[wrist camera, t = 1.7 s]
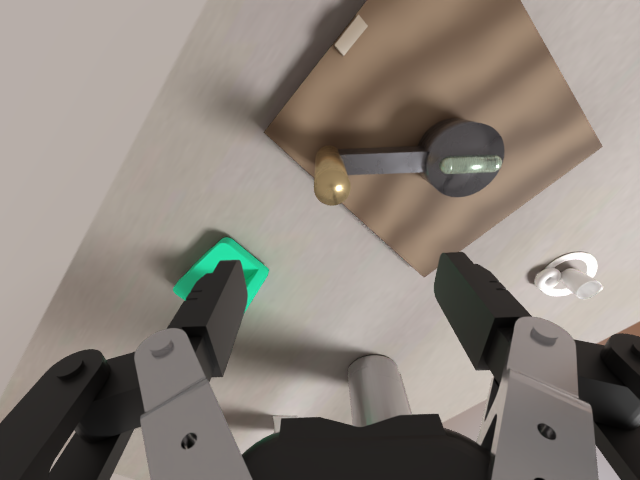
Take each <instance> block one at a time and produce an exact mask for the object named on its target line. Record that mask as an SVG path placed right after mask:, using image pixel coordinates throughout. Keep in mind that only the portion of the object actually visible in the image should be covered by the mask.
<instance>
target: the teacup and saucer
mask: <svg viewBox="0 0 640 480" xmlns="http://www.w3.org/2000/svg"><path fill="white" fill-rule="evenodd" d="M572 259H578V260H582V261H584V262H585V263H586V265H587V273H586V274H585V273H583V272H581V271H579V270H576V269H572V268H569V269H566V270H564V271H563V272H562V273H560V271H559V270H557V269H554V268H555V267H556V266H557V265H559V264H560V263H562V262H565V261H567V260H572ZM596 271H597V261H596V259H595V258H594V257H593V256H592V255H591V254H588V253H584V252H574V253H569V254H566V255H563V256H561V257H559V258H557V259H556V260H554V261H553V262H551V263H550V264H549V265H548V266H547V267H546V268H545V269H544V270H543V271H541V272H540V273H539V274H538V275H537V276H536V278H535V281H534V283H535V286H536V287H537V288H538V289H540V290H541V291H542V292H543V293H545V294H547V295H550V296H564V295H568V294H571V293H573V294H575V295H576V296H577V297H578V298H580V299H588V298H591V297H593V296H595V295H596V294H597V293H598V292H599V291H601V290H602V289H603V285H601V283H600V282H598V281H597V280H595V279H593V277H594V275H595V274H596ZM549 277H550V278H549ZM548 278H549V279H548ZM547 279H548V280H547ZM560 279H561V281H562V283H563V284H564V285H565V286H566V287H567V289H561V290H557V289H553V287H554V286H556V285H557V284H558V282H559V281H560Z"/></svg>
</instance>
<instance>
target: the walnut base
mask: <svg viewBox="0 0 640 480" xmlns="http://www.w3.org/2000/svg"><path fill="white" fill-rule="evenodd" d="M451 118H459V119H464V120H469V121H473V122H478V123H483V124H486V125H489V126H491V127H493V128H494V129H495V130H496V131H497V132H498V133H499V134H500V136H501V137H502V140H503V143H504V150H505V152H504V159H503V163H502V166H501V168H500V170H499V172H498V174H497V175H496V176H495V178H494V179H493V180H492V181H491V182H490V183H489V184H488V185H487V186H486V187H485V188H483V189H482V190H480V191H479V192H477V193H475V194H472V195H469V196H465V197H450V196H446V195H444V194H442V193H440V192H439V191H438V190H437V189H435V188H434V187H433V186H432V185H431V184H430V183H428V182H427V181H426V180H425V179H424V178H423V177H422V176H421V175H420V174H419V173H393V174H366V175H348V178H349V181H350V184H351V190H350V194H349V196H348V197H347V199H346V200H345V201H344V202H342V204H344V205H345V206H346V207H347V208H348V209H349V210H350V211H351V212H352V213H353V214H355V215H356V216H357V217H358V218H359V219H360V220H361V221H362V222H363V223H364V224H366V225H367V226H368V227H369V228H370V229H371V230H372V231H373V232H374V233H376V234H377V235H378V236H379V237H380V238H381V239H382V240H383V241H384V242H385V243H387V244H388V245H389V246H390V247H391V248H392V249H393V250H394V251H395V252H396V253H398V254H399V255H400V256H401V257H402V258H403V259H404V260H405V261H406V262H408V263H409V264H410V265H411V266H412V267H413V268H414V269H415V270H416V271H417V272H419V273H420V274H421V275H422V276H423V277H426V276H427V275H428V274H430V273H431V272H432V271H434V270H435V269H436V268H437V267H438V262H439V258H440V255H441V254H442V253H449V252H460V251H461V250H462V249H464V248H465V247H466V246H468V245H469V244H471V243H472V242H473V241H475V240H476V239H477V238H479V237H480V236H481V235H483V234H484V233H486V232H487V231H488V230H490V229H491V228H492V227H494V226H495V225H496V224H498V223H499V222H500V221H502V220H503V219H505V218H506V217H507V216H509V215H510V214H511V213H513V212H514V211H515V210H517V209H518V208H520V207H521V206H522V205H524V204H525V203H526V202H528V201H529V200H530V199H532V198H533V197H535V196H536V195H537V194H539V193H540V192H541V191H543V190H544V189H545V188H547V187H548V186H550V185H551V184H552V183H554V182H555V181H556V180H558V179H559V178H560V177H562V176H563V175H565V174H566V173H567V172H569V171H570V170H571V169H573V168H574V167H575V166H577V165H578V164H580V163H581V162H582V161H584V160H585V159H586V158H588V157H589V156H590V155H592V154H593V153H595V152H596V151H597V150H599V149H600V148H601V147H603V146H602V145H601V143H600V141H599V139H598V138H597V136H596V134H595V132H594V130H593V129H592V127H591V125H590V123H589V122H588V120H587V118H586V116H585V114H584V113H583V111H582V109H581V107H580V106H579V104H578V102H577V100H576V98H575V97H574V95H573V93H572V91H571V90H570V88H569V86H568V84H567V82H566V81H565V79H564V77H563V75H562V74H561V72H560V70H559V68H558V66H557V65H556V63H555V61H554V59H553V58H552V56H551V54H550V52H549V50H548V49H547V47H546V45H545V43H544V42H543V40H542V38H541V36H540V34H539V33H538V31H537V29H536V27H535V26H534V24H533V22H532V20H531V18H530V17H529V15H528V13H527V11H526V10H525V8H524V6H523V4H522V2H521V1H520V0H367V1H366V2H365V4H364V5H363V6H362V7H361V9H360V10H359V11H358V12H357V14H356V15H355V16H354V18H353V19H352V20H351V21H350V23H349V24H348V25H347V27H346V28H345V29H344V30H343V32H342V33H341V34H340V36H339V37H338V38H337V39H336V41H335V42H334V43H333V44H332V46H331V47H330V48H329V50H328V51H327V52H326V53H325V55H324V56H323V57H322V59H321V60H320V61H319V62H318V64H317V65H316V66H315V68H314V69H313V70H312V71H311V73H310V74H309V75H308V76H307V78H306V79H305V80H304V82H303V83H302V84H301V85H300V87H299V88H298V89H297V91H296V92H295V93H294V94H293V96H292V97H291V98H290V100H289V101H288V102H287V103H286V105H285V106H284V107H283V108H282V110H281V111H280V112H279V114H278V115H277V116H276V117H275V119H274V120H273V121H272V123H271V124H270V125H269V126H268V128H267V129H266V130H265V132H264V133H265V134H266V135H267V136H268V137H270V138H271V139H272V140H273V141H274V142H275V143H276V144H277V145H278V146H280V147H281V148H282V149H283V150H284V151H285V152H286V153H287V154H288V155H289V156H291V157H292V158H293V159H294V160H295V161H296V162H297V163H298V164H299V165H300V166H302V167H303V168H304V169H305V170H306V171H307V172H308V173H309V174H310V175H312V176H313V177H314V178H315V160H316V154H317V152H318V151H319V149H320V148H322V147H324V146H334V147H336V148H337V149H352V148H378V147H404V146H417V145H418V143H419V141H420V139H421V138H422V136H423V135H424V134H425V132H426V131H427V130H428V129H429V128H431V127H432V126H433V125H435V124H436V123H438V122H440V121H443V120H446V119H451Z"/></svg>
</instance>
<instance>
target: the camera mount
mask: <svg viewBox="0 0 640 480" xmlns="http://www.w3.org/2000/svg"><path fill="white" fill-rule="evenodd" d="M221 260H240V261H241V264H242V268H243V273H244V277H245V282H246V287H247V293H248V299H247V305H246V309H245V311H246V310H247V308H248V306H249V305H250V303H251V302H252V300H253V298H254V297H255V295H256V293H257V292H258V290H259V289H260V287H261V285H262V284H263V282H264V281H265V279H266V277H267V276H268V272H269V269H268V268H267V267H266V266H265V265H263V264H262V263H261V262H260V261H258V260H257V259H256V258H255V257H254V256H252V255H251V254H250V253H249V252H247V251H246V250H245V249H244V248H242V247H241V246H240V245H239V244H238V243H236V242H235V241H234V240H233V239H231V238H228V237H225V238H222V239H221V240H220V241H219V242H218V243H217V244H216V245H215V246H214V247H212V248H210V249H209V250H208V251H207V252H206V253H205V254H204V255H203V256H202V257H201V258H200V259H199V260H198V261H197V262H196V263H195V264H194V265H193V266H192V267H191V269H190V270H189V271H188V272H187V273H186V274H185V275H184V276H183V277H182V278H180V279H179V281H178V282H177V283H176V285H175V286H174V288H173V291H174V293H175V294H176V295H178V296H179V297H181V298H182V299H184V300H185V301H186V297H187V296H188V294H189V293H191V289H192V288H193V286H194V285H195V283H196V282H197V281H198V280H199V279H200V278H201V277H203V276H204V275H205V274H206V273H213V271H214V269H215V268H216V266H217V264H218V262H219V261H221ZM244 313H245V312H244Z"/></svg>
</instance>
